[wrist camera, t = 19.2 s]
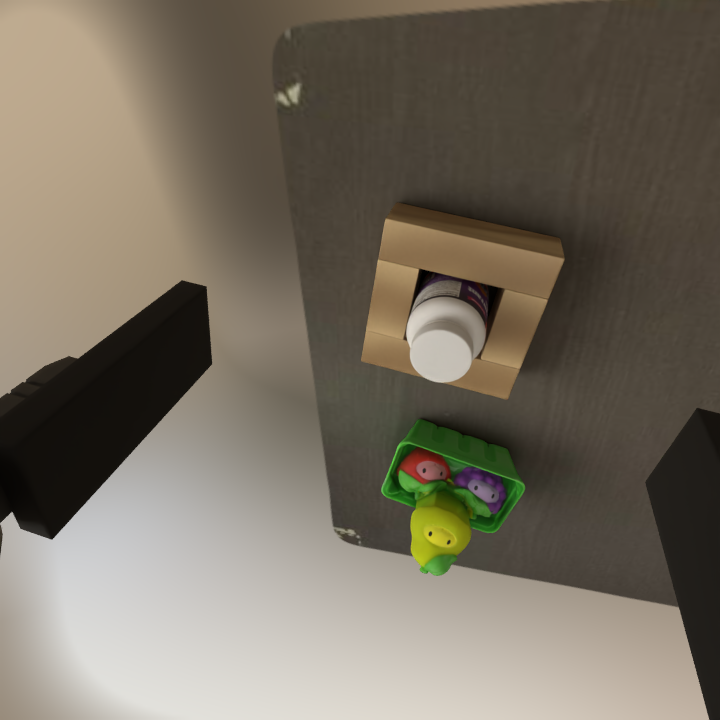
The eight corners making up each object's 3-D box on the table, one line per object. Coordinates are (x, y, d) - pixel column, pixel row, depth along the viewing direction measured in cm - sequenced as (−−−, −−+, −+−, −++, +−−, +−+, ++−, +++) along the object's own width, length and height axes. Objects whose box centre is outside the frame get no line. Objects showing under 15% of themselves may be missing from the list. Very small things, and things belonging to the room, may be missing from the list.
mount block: (396, 201, 36) (385, 218, 33) (560, 237, 35) (565, 258, 32) (372, 336, 43) (360, 361, 40) (507, 371, 42) (507, 400, 38)
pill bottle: (495, 316, 39) (491, 387, 31) (429, 327, 41) (410, 396, 33) (482, 253, 37) (474, 313, 29) (413, 268, 39) (388, 327, 31)
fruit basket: (527, 444, 45) (532, 547, 36) (491, 502, 50) (487, 605, 41) (410, 403, 46) (385, 494, 37) (386, 464, 51) (359, 557, 42)
